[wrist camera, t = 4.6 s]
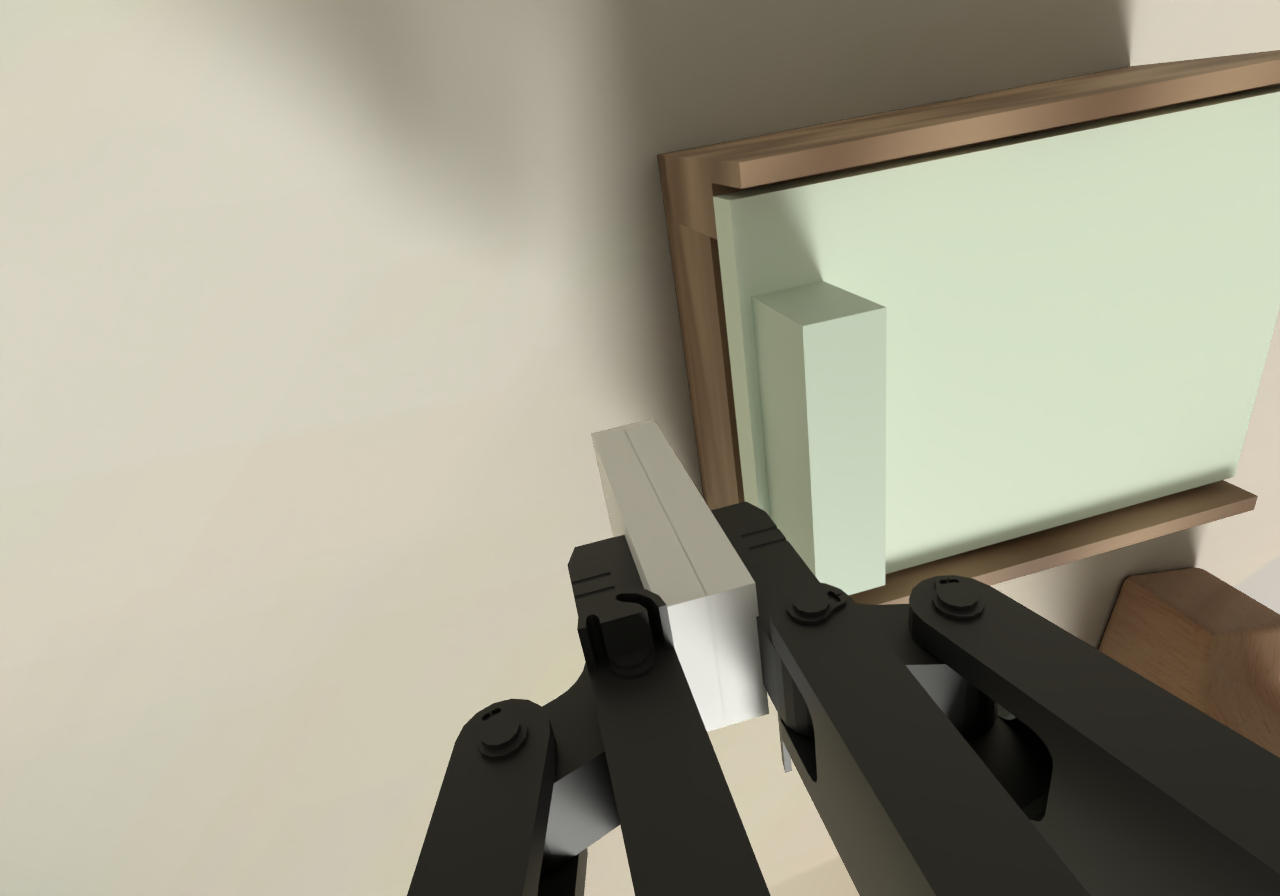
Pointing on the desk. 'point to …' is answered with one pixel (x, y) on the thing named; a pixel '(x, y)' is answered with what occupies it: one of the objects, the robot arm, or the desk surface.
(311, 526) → the desk surface
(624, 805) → the robot arm
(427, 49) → the desk surface
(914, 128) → the box
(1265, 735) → the wooden block
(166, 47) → the desk surface
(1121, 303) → the lid
